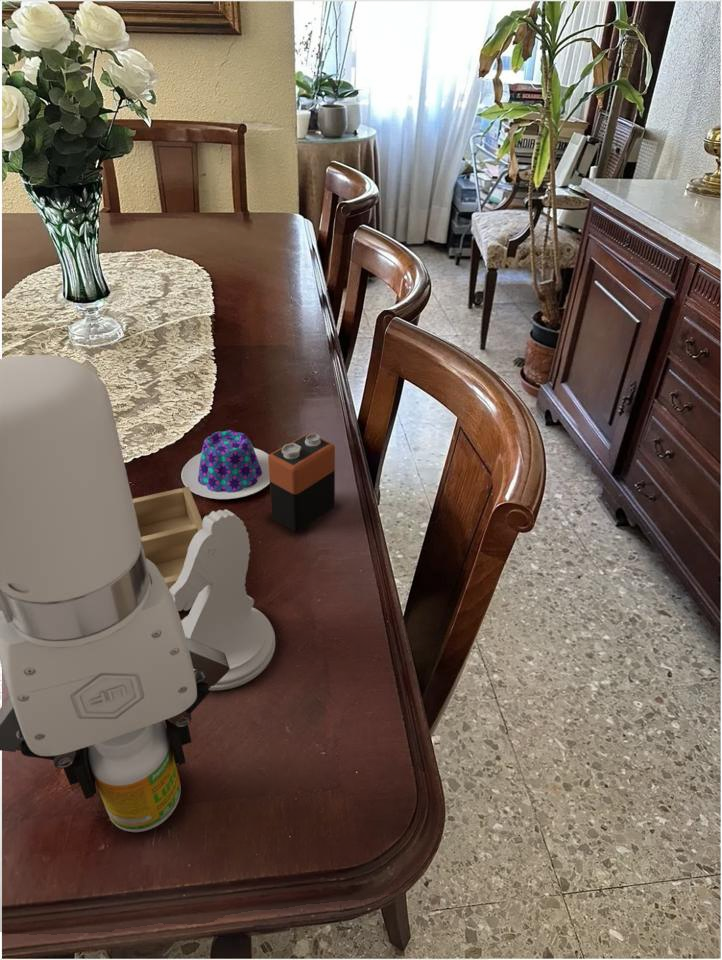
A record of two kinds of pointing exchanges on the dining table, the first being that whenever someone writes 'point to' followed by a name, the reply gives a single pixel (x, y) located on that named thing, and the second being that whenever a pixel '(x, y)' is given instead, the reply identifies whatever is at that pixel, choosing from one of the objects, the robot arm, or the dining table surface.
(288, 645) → the dining table surface
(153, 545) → the grid
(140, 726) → the robot arm
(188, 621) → the chess piece
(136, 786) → the supplement bottle
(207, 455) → the pudding
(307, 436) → the battery
